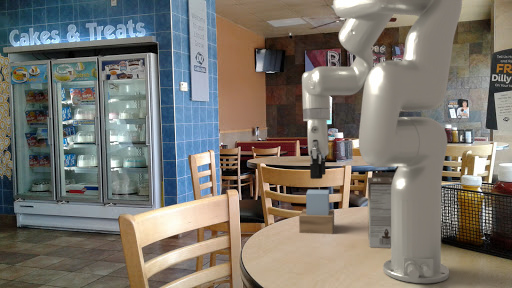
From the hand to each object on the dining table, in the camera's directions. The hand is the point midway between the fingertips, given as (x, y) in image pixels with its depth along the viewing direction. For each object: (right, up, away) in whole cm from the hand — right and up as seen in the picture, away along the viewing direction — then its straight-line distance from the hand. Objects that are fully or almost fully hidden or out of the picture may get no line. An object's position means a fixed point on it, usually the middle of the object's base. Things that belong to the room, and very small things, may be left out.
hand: (318, 176), depth 127 cm
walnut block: (0, -15, +2) cm, 15 cm away
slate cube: (0, -10, +1) cm, 10 cm away
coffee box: (+14, -16, -13) cm, 25 cm away
